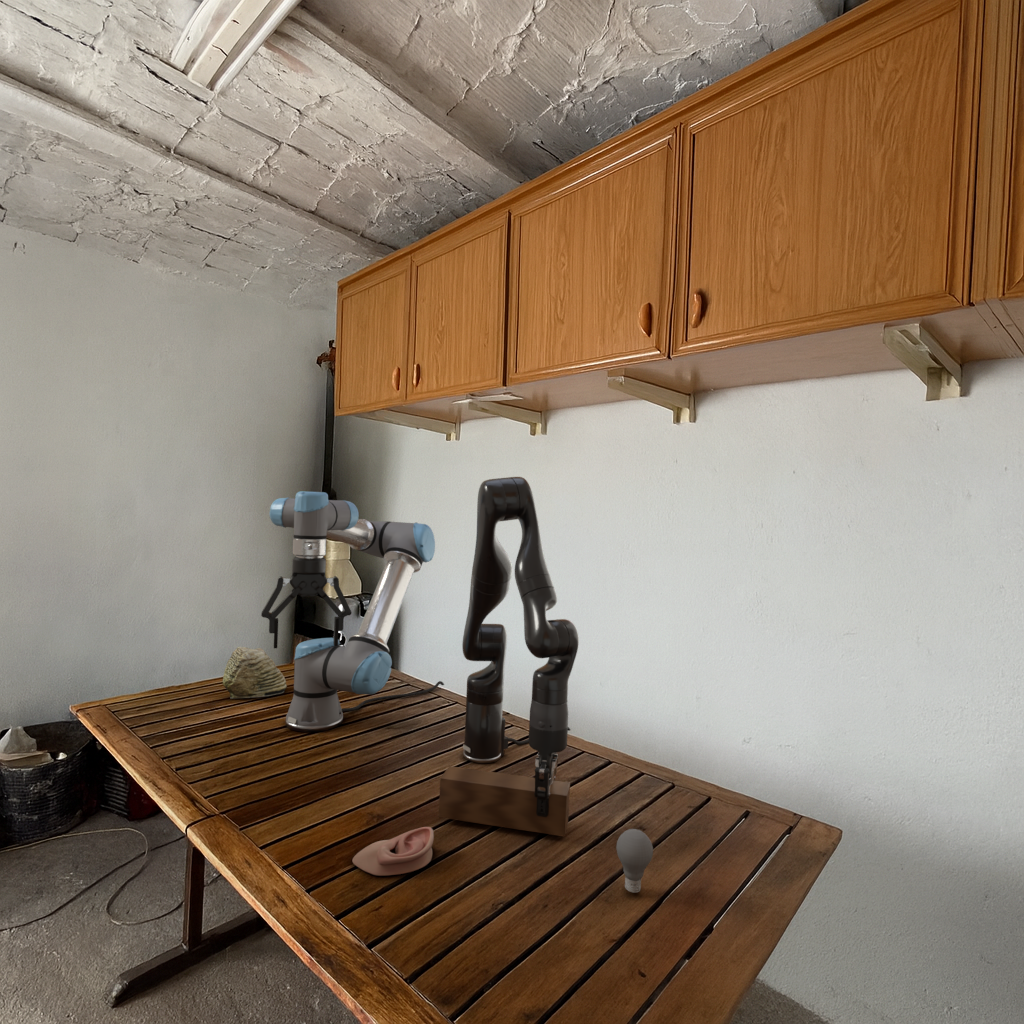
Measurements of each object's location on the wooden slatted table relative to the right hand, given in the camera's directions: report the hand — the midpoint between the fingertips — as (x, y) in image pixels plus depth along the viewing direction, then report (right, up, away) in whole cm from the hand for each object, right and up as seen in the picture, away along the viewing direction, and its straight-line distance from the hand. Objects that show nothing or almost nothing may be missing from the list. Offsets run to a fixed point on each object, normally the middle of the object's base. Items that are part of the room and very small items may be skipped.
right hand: (544, 807), depth 124 cm
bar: (-8, -3, +2) cm, 9 cm away
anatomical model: (-27, -4, -12) cm, 30 cm away
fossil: (-87, 0, +74) cm, 115 cm away
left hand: (-55, +26, +27) cm, 67 cm away
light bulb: (+14, -6, -18) cm, 23 cm away
